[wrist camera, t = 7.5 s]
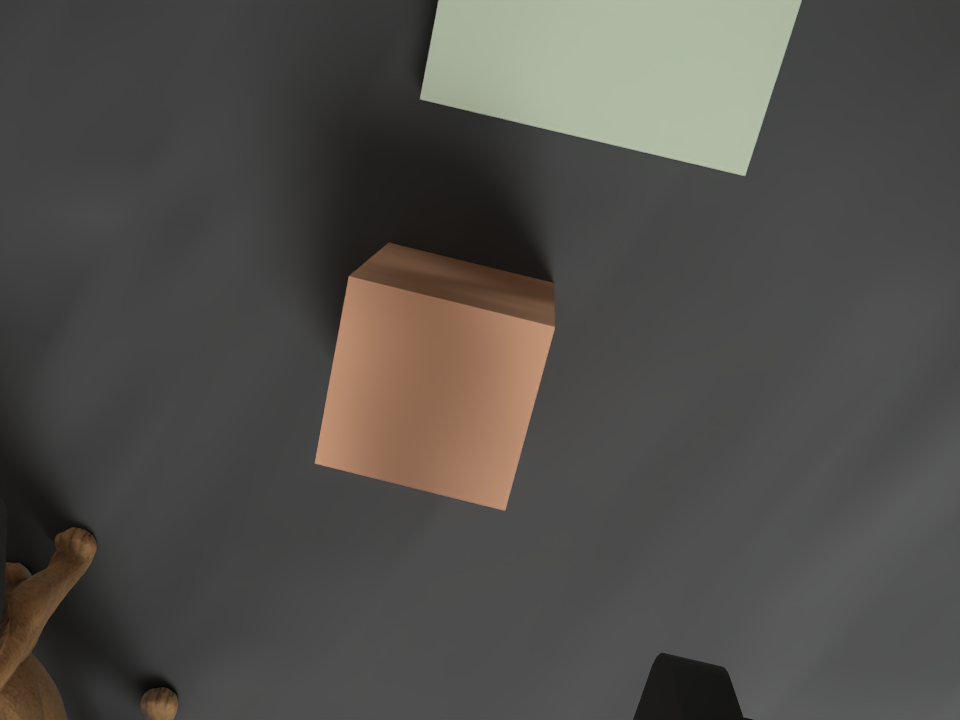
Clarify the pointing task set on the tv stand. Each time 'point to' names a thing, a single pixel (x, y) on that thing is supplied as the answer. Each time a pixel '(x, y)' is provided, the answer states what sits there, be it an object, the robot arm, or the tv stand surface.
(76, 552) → the lion figurine
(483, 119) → the tv stand surface
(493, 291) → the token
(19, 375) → the tv stand surface
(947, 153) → the tv stand surface
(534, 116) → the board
